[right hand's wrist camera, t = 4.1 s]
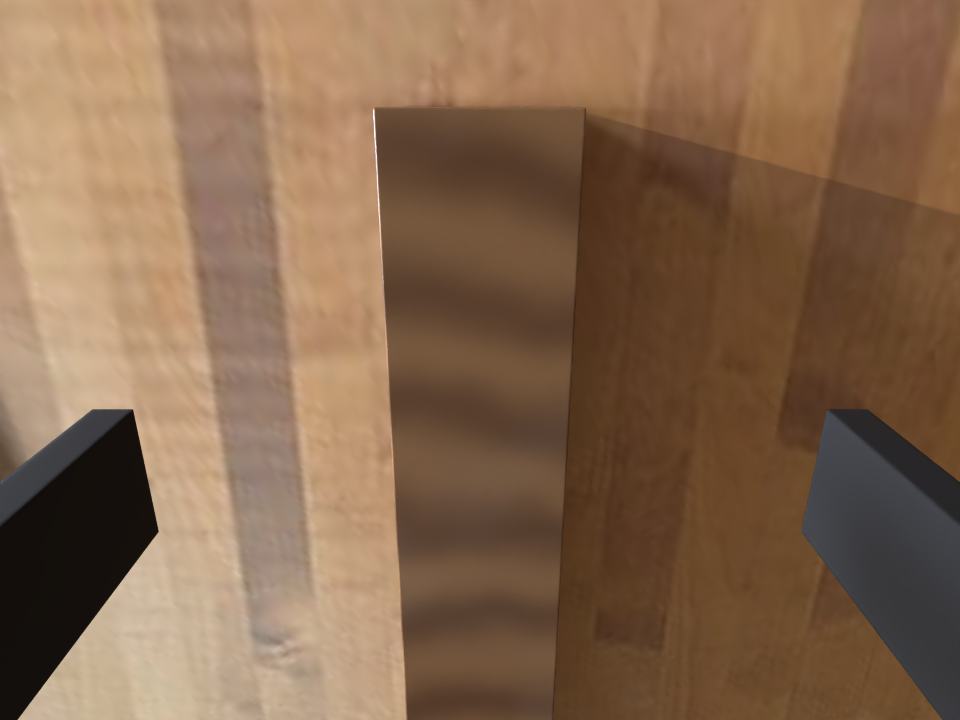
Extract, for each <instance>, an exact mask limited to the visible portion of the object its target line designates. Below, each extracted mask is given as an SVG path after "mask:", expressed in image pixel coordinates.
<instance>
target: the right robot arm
mask: <svg viewBox="0 0 960 720" xmlns="http://www.w3.org/2000/svg"><path fill="white" fill-rule="evenodd" d="M158 532H159V531H158V526H157V521H156V516H155V512H154V507H153V502H152V497H151V493H150V488H149V483H148V478H147V474H146V469H145V464H144V459H143V455H142V450H141V445H140V440H139V436H138V431H137V426H136V421H135V417H134V412H133V409H92V410H91V411H90V412H89V413H87V414H86V415H85V416H84V417H82V418H81V419H80V420H79V421H77V422H76V423H75V424H73V425H72V426H71V427H70V428H68V429H67V430H66V431H65V432H63V433H62V434H61V435H60V436H58V437H57V438H56V439H54V440H53V441H52V442H51V443H49V444H48V445H47V446H46V447H44V448H43V449H42V450H41V451H39V452H38V453H37V454H35V455H34V456H33V457H32V458H30V459H29V460H28V461H27V462H25V463H24V464H23V465H22V466H20V467H19V468H18V469H16V470H15V471H14V472H13V473H11V474H10V475H9V476H8V477H6V478H5V479H4V480H3V481H1V482H0V720H18V718H19V717H20V716H21V714H22V713H23V712H24V710H25V709H26V708H27V706H28V705H29V704H30V702H31V701H32V700H33V698H34V697H35V696H36V694H37V693H38V692H39V690H40V689H41V688H42V686H43V685H44V684H45V682H46V681H47V680H48V678H49V677H50V676H51V674H52V673H53V672H54V670H55V669H56V668H57V666H58V665H59V664H60V662H61V661H62V660H63V658H64V657H65V656H66V654H67V653H68V652H69V650H70V649H71V648H72V646H73V645H74V644H75V642H76V641H77V640H78V638H79V637H80V636H81V634H82V633H83V632H84V630H85V629H86V628H87V626H88V625H89V624H90V623H91V621H92V620H93V619H94V617H95V616H96V615H97V613H98V612H99V611H100V609H101V608H102V607H103V605H104V604H105V603H106V601H107V600H108V599H109V597H110V596H111V595H112V593H113V592H114V591H115V589H116V588H117V587H118V585H119V584H120V583H121V581H122V580H123V579H124V577H125V576H126V575H127V573H128V572H129V571H130V569H131V568H132V567H133V565H134V564H135V563H136V561H137V560H138V559H139V557H140V556H141V555H142V553H143V552H144V551H145V549H146V548H147V547H148V545H149V544H150V543H151V541H152V540H153V539H154V537H155V536H156V535H157V533H158ZM801 532H802V533H803V535H804V536H805V537H806V539H807V540H808V541H809V543H810V544H811V545H812V547H813V548H814V549H815V551H816V552H817V553H818V555H819V556H820V557H821V559H822V560H823V561H824V563H825V564H826V565H827V567H828V568H829V569H830V571H831V572H832V573H833V575H834V576H835V577H836V579H837V580H838V581H839V583H840V584H841V585H842V587H843V588H844V589H845V591H846V592H847V593H848V595H849V596H850V597H851V599H852V600H853V601H854V603H855V604H856V605H857V607H858V608H859V609H860V611H861V612H862V613H863V615H864V616H865V617H866V619H867V620H868V621H869V623H870V624H871V625H872V626H873V628H874V629H875V630H876V632H877V633H878V634H879V636H880V637H881V638H882V640H883V641H884V642H885V644H886V645H887V646H888V648H889V649H890V650H891V652H892V653H893V654H894V656H895V657H896V658H897V660H898V661H899V662H900V664H901V665H902V666H903V668H904V669H905V670H906V672H907V673H908V674H909V676H910V677H911V678H912V680H913V681H914V682H915V684H916V685H917V686H918V688H919V689H920V690H921V692H922V693H923V694H924V696H925V697H926V698H927V700H928V701H929V702H930V704H931V705H932V706H933V708H934V709H935V710H936V712H937V713H938V714H939V716H940V717H941V718H942V720H960V482H959V481H957V480H956V479H955V478H954V477H952V476H951V475H950V474H949V473H947V472H946V471H945V470H944V469H942V468H941V467H940V466H938V465H937V464H936V463H935V462H933V461H932V460H931V459H930V458H928V457H927V456H926V455H925V454H923V453H922V452H921V451H919V450H918V449H917V448H916V447H914V446H913V445H912V444H911V443H909V442H908V441H907V440H906V439H904V438H903V437H902V436H900V435H899V434H898V433H897V432H895V431H894V430H893V429H892V428H890V427H889V426H888V425H887V424H885V423H884V422H883V421H881V420H880V419H879V418H878V417H876V416H875V415H874V414H873V413H871V412H870V411H869V410H868V409H827V412H826V417H825V421H824V426H823V431H822V436H821V440H820V445H819V450H818V455H817V459H816V464H815V469H814V474H813V478H812V483H811V488H810V493H809V497H808V502H807V507H806V512H805V516H804V521H803V526H802V531H801Z"/></svg>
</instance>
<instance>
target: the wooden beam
mask: <svg viewBox="0 0 960 720" xmlns="http://www.w3.org/2000/svg"><path fill="white" fill-rule="evenodd" d="M373 119H374V137H375V156H376V174H377V192H378V210H379V228H380V247H381V265H382V283H383V301H384V319H385V338H386V356H387V374H388V392H389V410H390V429H391V447H392V465H393V483H394V501H395V520H396V538H397V556H398V574H399V592H400V611H401V629H402V647H403V665H404V683H405V702H406V720H553V708H554V690H555V672H556V653H557V635H558V617H559V598H560V580H561V561H562V543H563V525H564V506H565V488H566V470H567V451H568V433H569V415H570V396H571V378H572V360H573V341H574V323H575V305H576V286H577V268H578V250H579V231H580V213H581V194H582V176H583V158H584V139H585V121H586V108H580V107H379V108H374V109H373Z"/></svg>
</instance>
